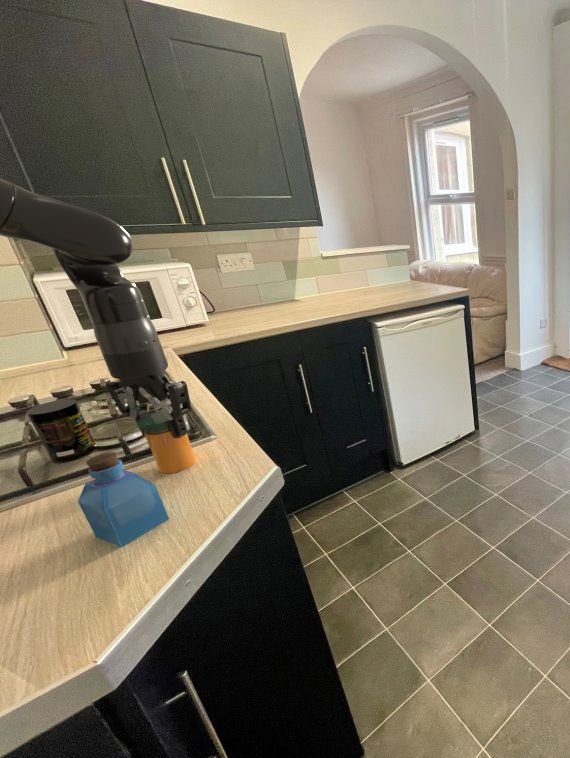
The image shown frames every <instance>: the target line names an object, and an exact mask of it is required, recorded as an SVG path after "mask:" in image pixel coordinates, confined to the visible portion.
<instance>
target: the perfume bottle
mask: <svg viewBox="0 0 570 758" xmlns="http://www.w3.org/2000/svg"><path fill="white" fill-rule="evenodd" d="M85 464H86V465H87V466H88V468H89V469H88V470H87V471H88V474H89V477H90V478H91V479H93V480H91V481H88V482H86V483H84V486H83V487H82V491H81V493H80V496H79V497H78V501H77V503H78V505H79V507H80V509H81V511H82V513H83V515H84V517H85V519H86V521H87V523H88V525H89V527H90V528H91V530H92V532H93V535H94V537H95V538H98V539H101V540H104V541H106V542H108V543H111V544H113V545H117V546H120V547H123V548H124V547H125V546H126V545H128V544H130V543H132V542H133V541H134V540H136V539H138V538H140V537H141V536H143V535H145V534H146V533H148V532H149V531H151V530H153V529H155V528H156V527H158V526H159V525H161V524H163V523H164V522H166V521H167V520H169V519H170V517H169V515H168V513H167V512H168V511H167V510H166V508H165V507H166V506H165V504H164V503H163V500H162V498H161V495H160V493H159V491H158V488H157V485H156V484H155V483H153V482H151V481H150V480H148V479H146V478H145V477H143V476H141V475H139V474H138V473H136V472H132V471H129V470H126V469H124V467H125V466H124V464H123V461H122V459H119V458H118V454H117V452H113V451H110V452H105V453H101V454H97V455H94V456H92V457H91V458H89V459H87V460H86V462H85Z"/></svg>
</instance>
